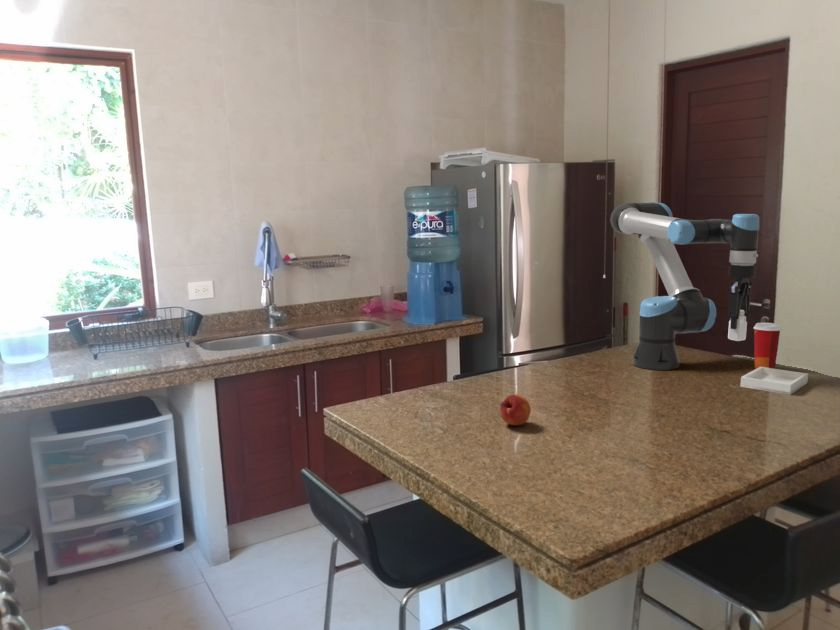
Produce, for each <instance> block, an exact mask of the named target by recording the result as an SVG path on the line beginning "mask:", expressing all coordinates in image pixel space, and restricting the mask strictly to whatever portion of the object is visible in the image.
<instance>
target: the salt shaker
mask: <svg viewBox="0 0 840 630" xmlns="http://www.w3.org/2000/svg"><path fill="white" fill-rule="evenodd" d="M744 312H745V311H744V310H740V314H739V319H740V327H739V339H738V340H736V339H729V328H730V320H729V321H728V329H727V330H728V333H727V339H728V340H730V341H735V342H741V341H746V338H747V331H748V329H747V327H748V322H747V320H746V321H745V320H744Z"/></svg>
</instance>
